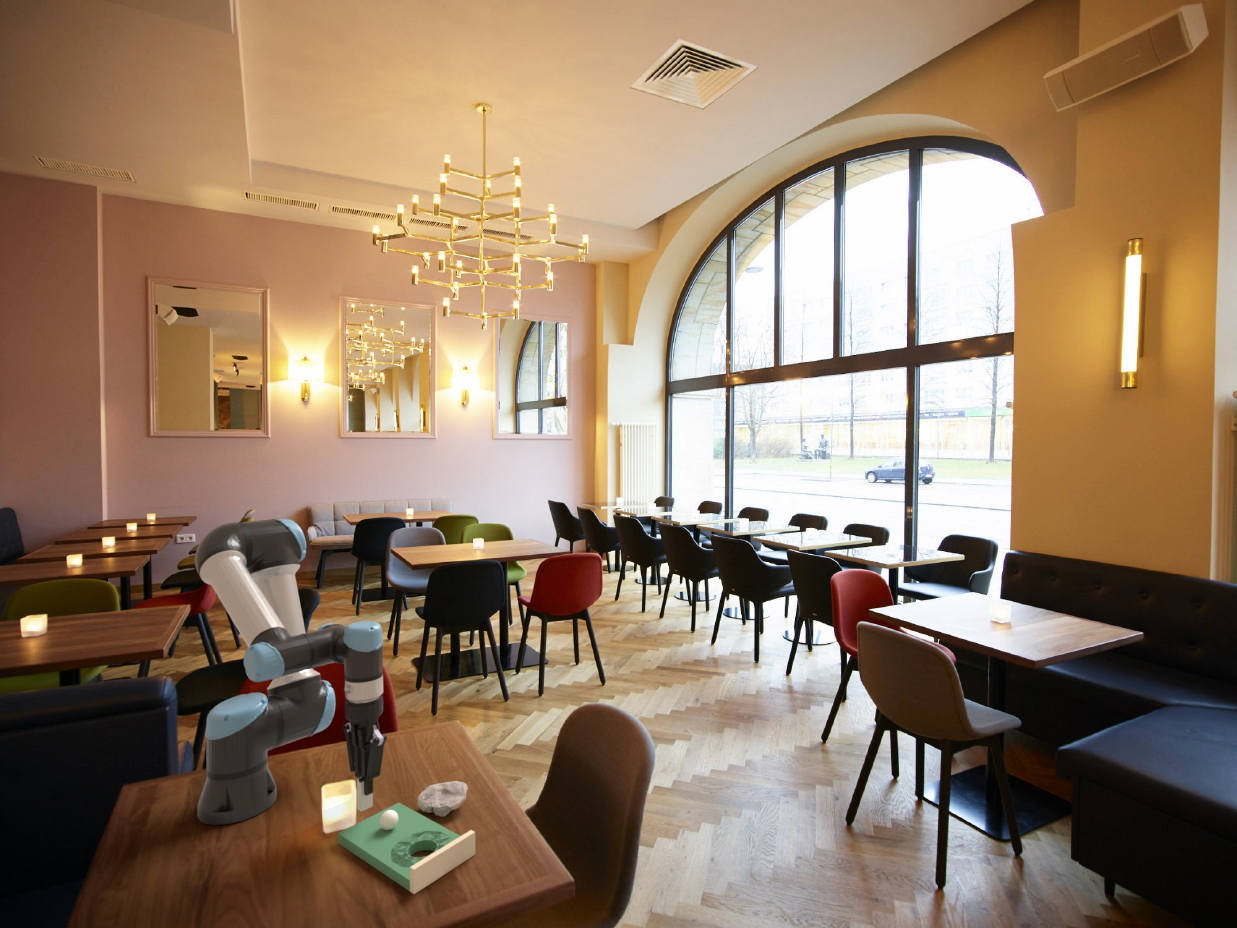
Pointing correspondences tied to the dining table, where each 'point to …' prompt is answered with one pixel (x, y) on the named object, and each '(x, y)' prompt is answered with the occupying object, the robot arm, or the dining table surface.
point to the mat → (408, 847)
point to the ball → (388, 819)
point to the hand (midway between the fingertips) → (365, 807)
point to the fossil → (442, 797)
